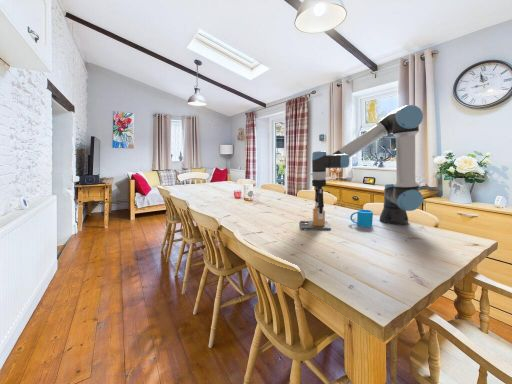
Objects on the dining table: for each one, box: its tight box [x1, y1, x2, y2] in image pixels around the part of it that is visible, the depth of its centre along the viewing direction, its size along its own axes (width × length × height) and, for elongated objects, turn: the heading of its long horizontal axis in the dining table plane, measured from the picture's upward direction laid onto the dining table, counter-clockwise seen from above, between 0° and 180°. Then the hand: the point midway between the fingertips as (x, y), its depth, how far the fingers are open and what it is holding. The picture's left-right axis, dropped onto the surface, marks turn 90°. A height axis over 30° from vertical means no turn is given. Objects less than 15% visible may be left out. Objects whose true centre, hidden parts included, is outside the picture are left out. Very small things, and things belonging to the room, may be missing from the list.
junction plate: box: [299, 220, 332, 231], centre depth 141 cm, size 16×14×6 cm
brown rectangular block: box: [312, 205, 326, 226], centre depth 140 cm, size 6×6×10 cm
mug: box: [349, 209, 374, 228], centre depth 142 cm, size 12×8×8 cm
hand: (319, 215), depth 140 cm, fingers open, 13 cm apart
